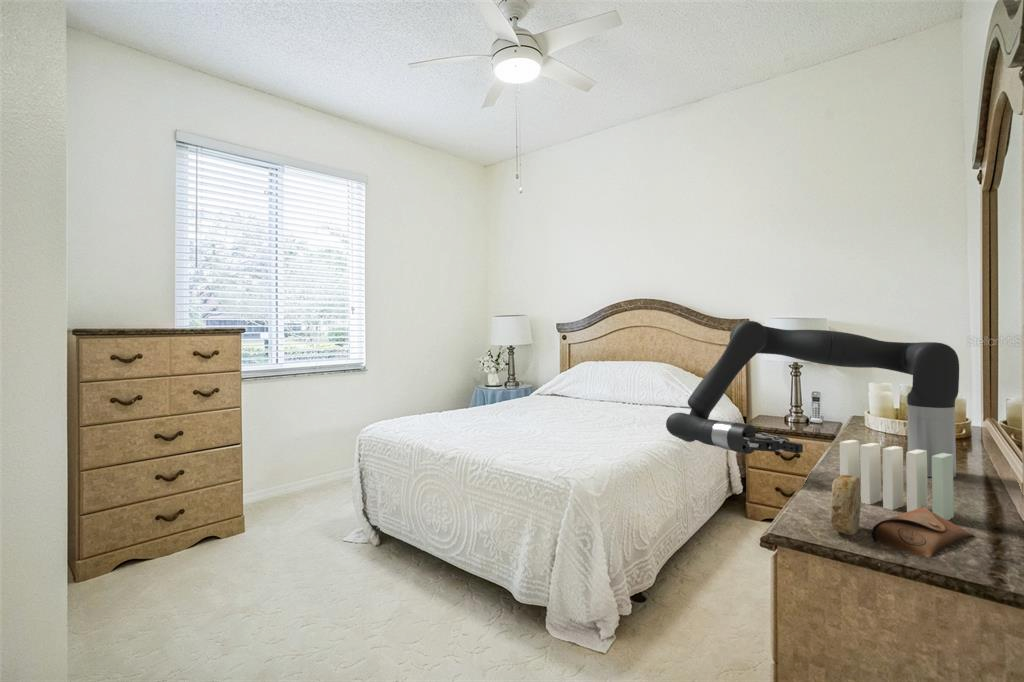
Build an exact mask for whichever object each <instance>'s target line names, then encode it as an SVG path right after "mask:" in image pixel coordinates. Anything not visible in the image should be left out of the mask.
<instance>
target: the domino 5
mask: <svg viewBox="0 0 1024 682" xmlns="http://www.w3.org/2000/svg"><path fill="white" fill-rule="evenodd" d="M931 490H932V491H931V493H932V494H931V495H932V497H931V498H932V501H931V502H932V503H931V504H932V509H931V510H932V511H931V512H933V513H935V514H937V515H939V516H940V517H942V518H944V519H946V520H948V521H950V520H951V518H952V519H953V517H954V518H955V512H954V511H955V510H954V509H955V507H954V505H955V504H954V499H955V497H954V477H953V454H946V453H940V454H937V455H934V456H932V477H931Z"/></svg>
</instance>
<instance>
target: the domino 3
mask: <svg viewBox="0 0 1024 682" xmlns="http://www.w3.org/2000/svg"><path fill="white" fill-rule="evenodd" d="M904 503H905V502H904V447H903V446H897V445H892V446H888V447H883V448H882V506H883V507H882V508H883V509H885V510H891V511H894V509H895V510H897V509H900V508H901V507H904V506H905V505H904ZM899 507H900V508H899Z"/></svg>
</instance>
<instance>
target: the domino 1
mask: <svg viewBox="0 0 1024 682" xmlns="http://www.w3.org/2000/svg"><path fill="white" fill-rule="evenodd" d="M841 475H852V476H856V477H858V478H859V480H860V481H861V473H860V440H855V439H848V440H843V441H840V442H839V476H841Z"/></svg>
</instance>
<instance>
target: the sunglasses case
mask: <svg viewBox="0 0 1024 682" xmlns="http://www.w3.org/2000/svg"><path fill="white" fill-rule="evenodd" d="M870 532H871V533H870V534H871V539H872V540H873V542H874V543H877V544H881V545H885V546H888V547H892V548H895V549H899V550H902V551H905V552H909V553H912V554H916V555H920V556H925V557H927V558H932V557H934V556H935V555H936V554H937V553H938V552H939V551H942V550H943V549H945V548H947V547H948V546H951V545H953V544H955V543H957V542H959V541H961V540H965V539H967V537H968V538H971V537H973V536H974V534H973V533H971V532H970V531H968V530H967V529H964V528H962V527H960V526H958V525H956V524H955V523H953V522H952V521H950V520H946V519H944V518H942V517H940V516H939V515H937V514H935V513H933V512H932V511H931V510H929V508H928V509H927V508H926V507H925V506H921V507H920V508H918V509H915V510H912V511H909V512H907V511H906V512H903V513H901V514H898V515H895V516H893V517H891V518H888V519H884V520H882V521H880V522H878V523H876V524H875V525H874V526H873V527H872V529H871V531H870Z"/></svg>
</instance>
